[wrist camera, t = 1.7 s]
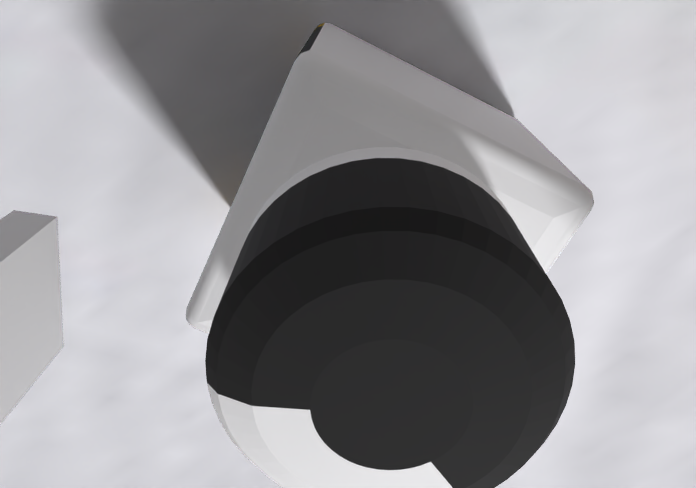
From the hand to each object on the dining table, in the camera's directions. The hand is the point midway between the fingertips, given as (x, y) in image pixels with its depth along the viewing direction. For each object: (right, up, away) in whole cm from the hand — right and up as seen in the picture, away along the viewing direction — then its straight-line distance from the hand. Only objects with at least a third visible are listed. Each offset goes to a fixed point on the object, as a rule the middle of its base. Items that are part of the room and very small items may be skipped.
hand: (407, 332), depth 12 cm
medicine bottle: (0, +4, +9) cm, 10 cm away
